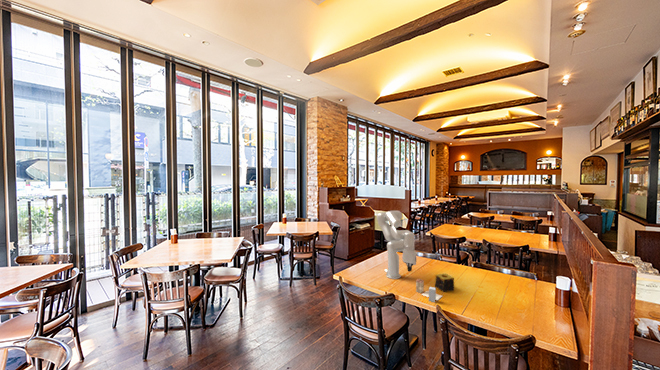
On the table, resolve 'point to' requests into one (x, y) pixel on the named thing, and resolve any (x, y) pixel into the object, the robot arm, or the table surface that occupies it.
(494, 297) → the table surface
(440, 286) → the candle
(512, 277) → the table surface
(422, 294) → the mat
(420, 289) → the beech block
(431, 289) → the bluegrey block
